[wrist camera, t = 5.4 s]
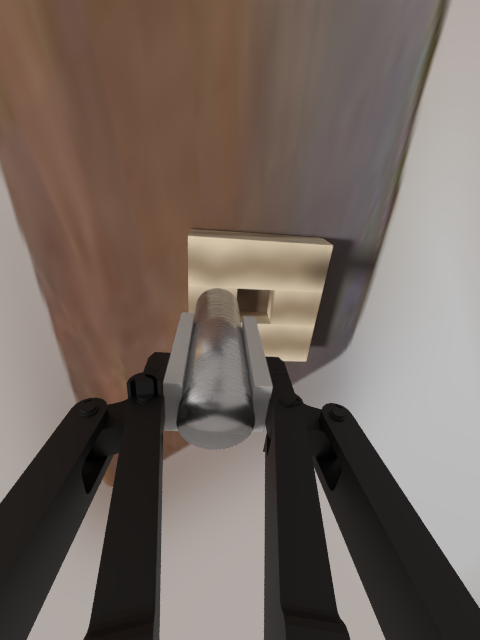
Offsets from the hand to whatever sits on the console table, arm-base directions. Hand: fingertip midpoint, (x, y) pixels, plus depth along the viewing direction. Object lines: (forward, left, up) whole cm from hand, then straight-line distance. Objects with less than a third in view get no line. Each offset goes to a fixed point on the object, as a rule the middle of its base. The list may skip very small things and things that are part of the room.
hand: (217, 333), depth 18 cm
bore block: (+5, +5, -19) cm, 21 cm away
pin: (0, 0, -4) cm, 4 cm away
